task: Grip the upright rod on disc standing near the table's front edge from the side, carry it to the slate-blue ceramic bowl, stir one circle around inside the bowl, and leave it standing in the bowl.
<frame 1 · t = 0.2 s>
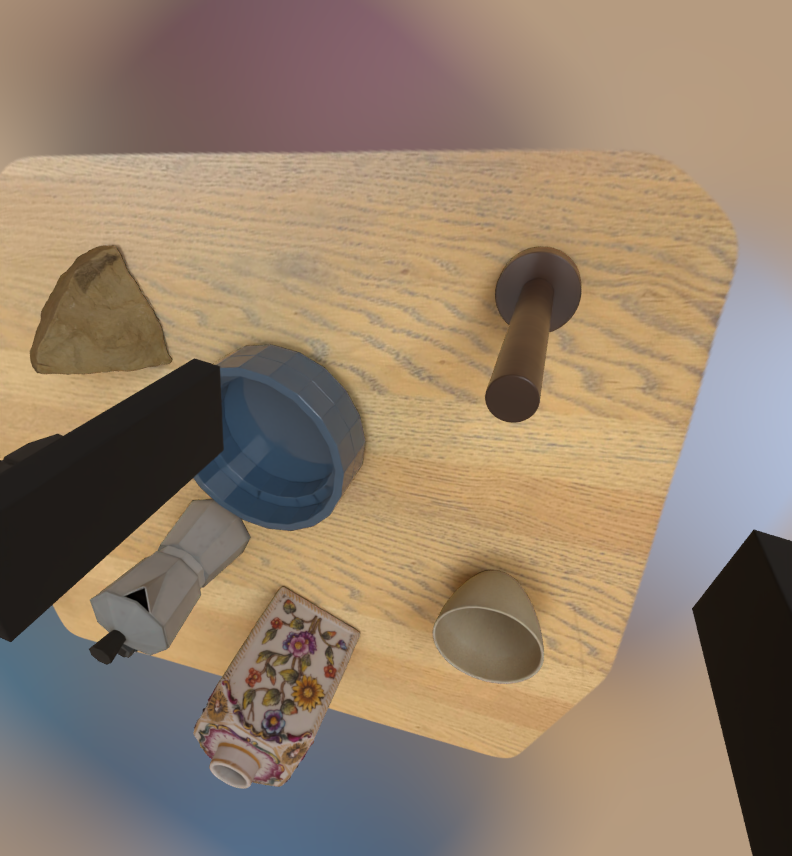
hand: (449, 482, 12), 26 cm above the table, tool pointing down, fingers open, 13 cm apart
rock: (137, 303, 46), on the table
decorative jar: (308, 628, 64), on the table
upright rod on disc: (538, 288, 35), on the table
bowl: (287, 423, 48), on the table
flower pot: (497, 586, 50), on the table
coffee maker: (216, 530, 60), on the table
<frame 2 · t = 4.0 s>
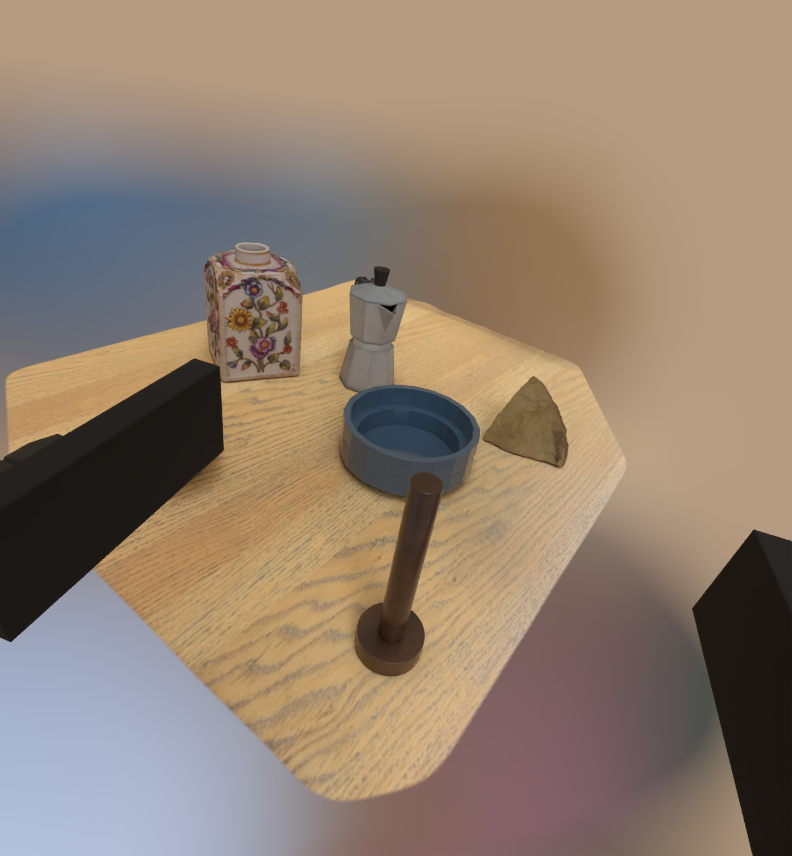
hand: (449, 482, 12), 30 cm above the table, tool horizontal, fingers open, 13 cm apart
rock: (525, 452, 69), on the table
decorative jar: (253, 363, 78), on the table
upright rod on disc: (388, 643, 41), on the table
bowl: (404, 457, 63), on the table
coffee maker: (364, 378, 80), on the table
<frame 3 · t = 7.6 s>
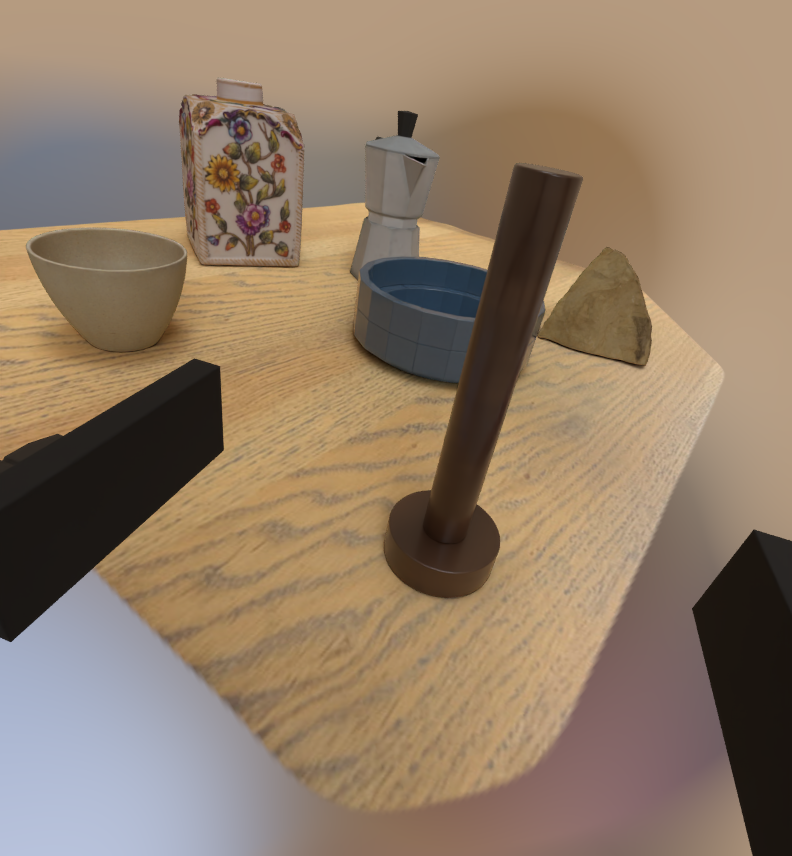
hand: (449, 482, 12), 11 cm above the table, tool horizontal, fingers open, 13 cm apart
rock: (593, 352, 53), on the table
decorative jar: (242, 254, 62), on the table
upright rod on disc: (437, 552, 25), on the table
bowl: (438, 346, 47), on the table
flower pot: (126, 340, 39), on the table
coffee maker: (381, 276, 64), on the table
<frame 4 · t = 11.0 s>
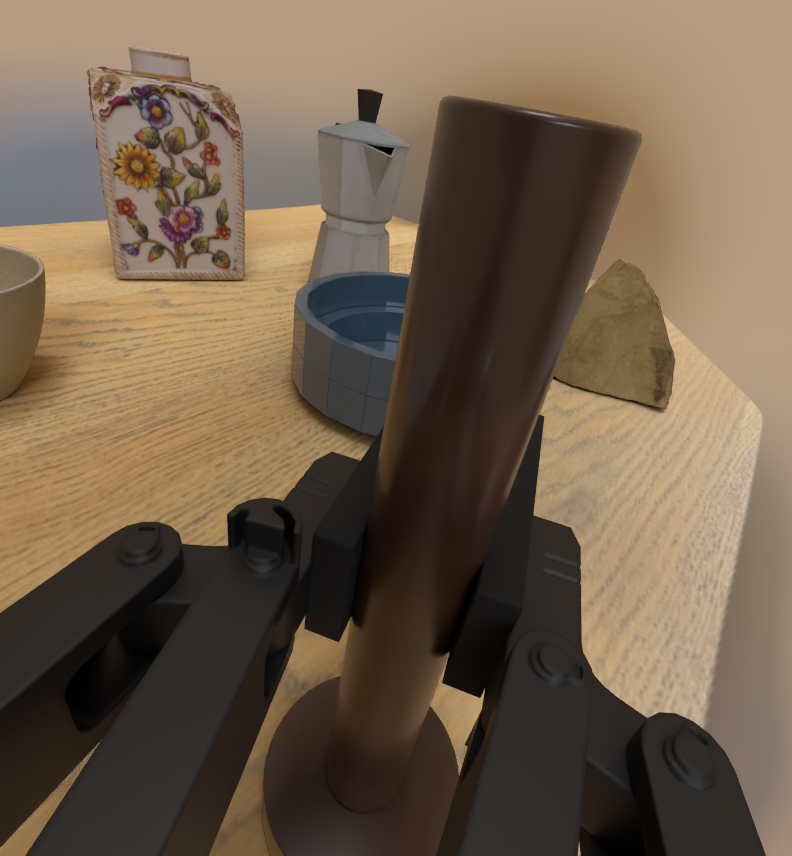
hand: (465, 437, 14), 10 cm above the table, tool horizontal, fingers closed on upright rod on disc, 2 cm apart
rock: (599, 389, 43), on the table
decorative jar: (177, 264, 52), on the table
upright rod on disc: (357, 793, 15), on the table, touching gripper
bowl: (404, 387, 37), on the table
coffee maker: (345, 290, 53), on the table
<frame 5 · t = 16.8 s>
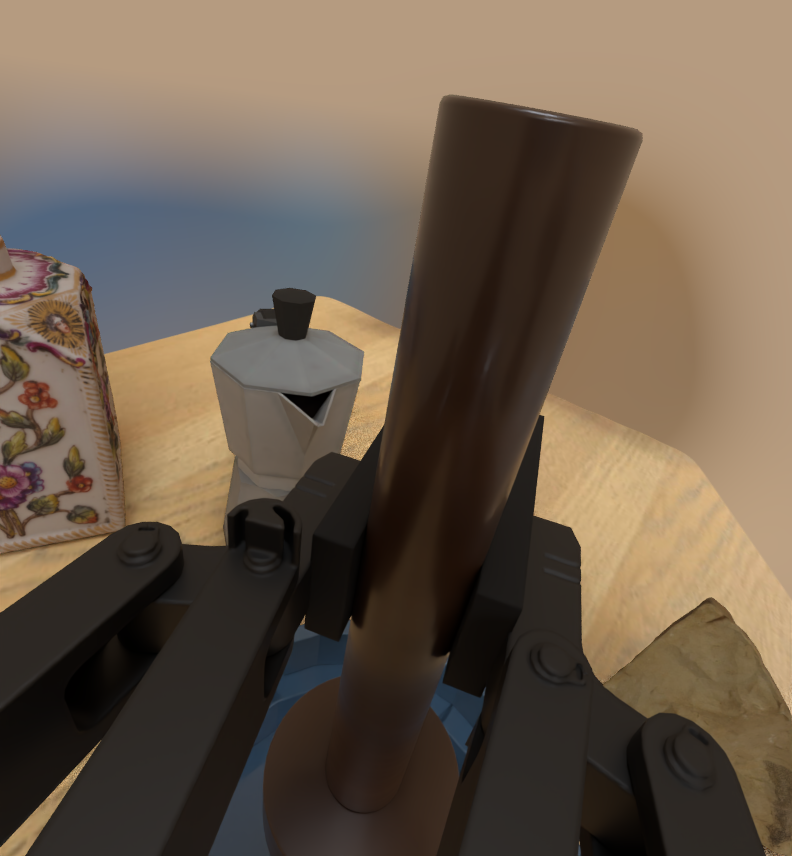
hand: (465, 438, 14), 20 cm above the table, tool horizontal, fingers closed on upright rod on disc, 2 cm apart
rock: (669, 778, 26), on the table
decorative jar: (33, 496, 36), on the table
upright rod on disc: (357, 793, 15), point 10 cm above the table, touching gripper
coffee maker: (281, 524, 37), on the table
when the fingers open (11 cm above the table, at t = 22.5 s): upright rod on disc stays where it is, resting on bowl.
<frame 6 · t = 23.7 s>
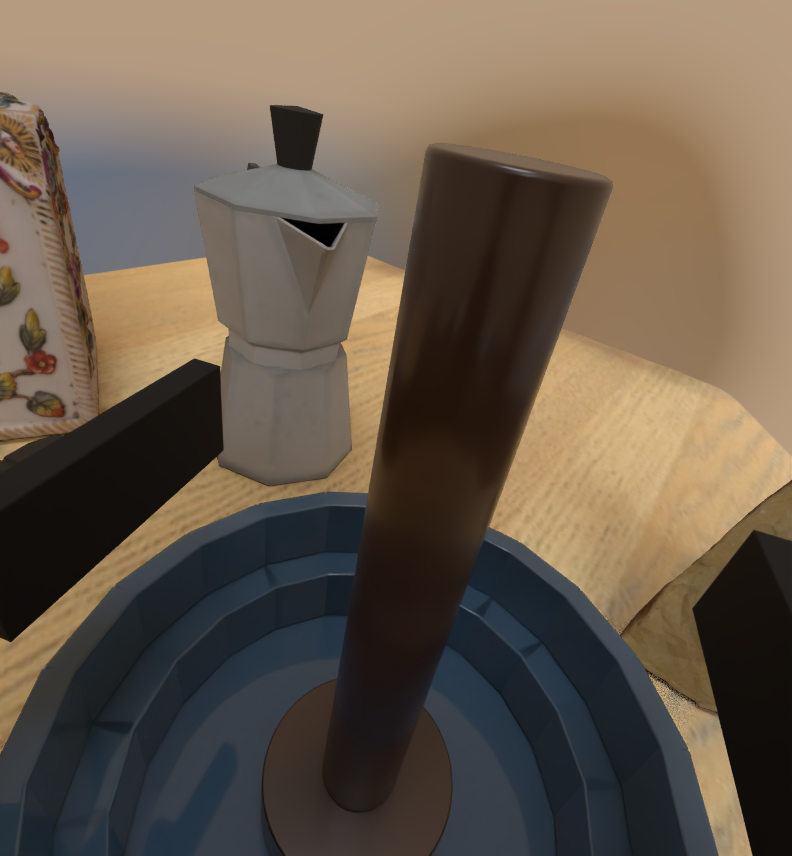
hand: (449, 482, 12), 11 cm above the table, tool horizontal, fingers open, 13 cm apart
rock: (749, 697, 22), on the table
upright rod on disc: (353, 793, 16), point 1 cm above the table, touching bowl
bowl: (351, 804, 16), on the table
coffee maker: (279, 433, 32), on the table
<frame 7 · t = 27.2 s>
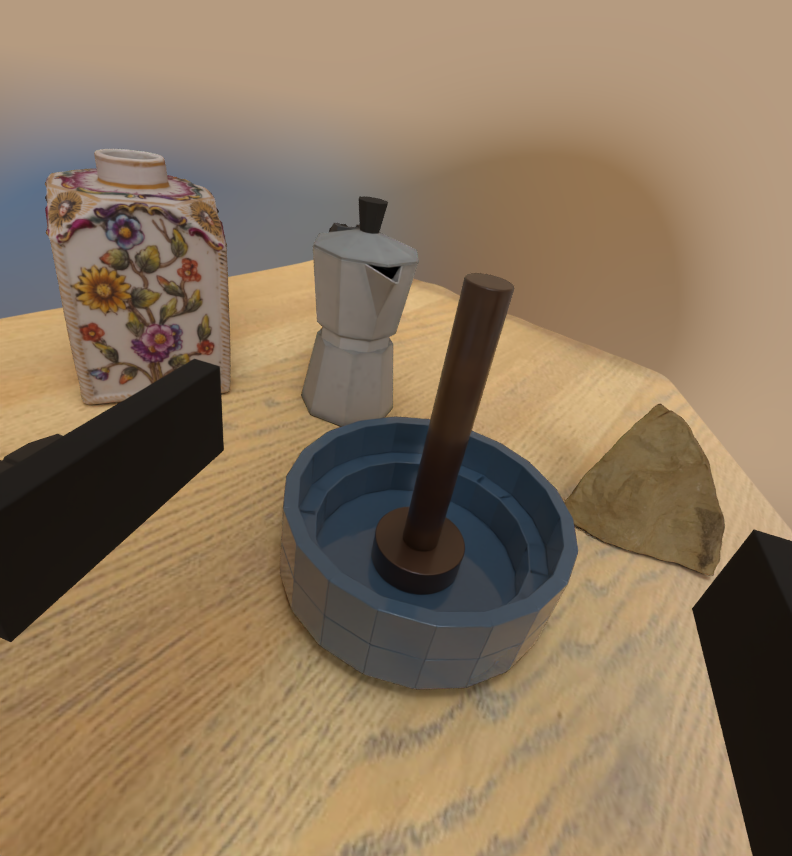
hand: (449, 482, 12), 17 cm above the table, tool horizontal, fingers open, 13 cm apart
rock: (634, 541, 37), on the table
decorative jar: (156, 370, 46), on the table
upright rod on disc: (415, 557, 31), point 1 cm above the table, touching bowl
bowl: (413, 566, 32), on the table
coffee maker: (343, 397, 48), on the table
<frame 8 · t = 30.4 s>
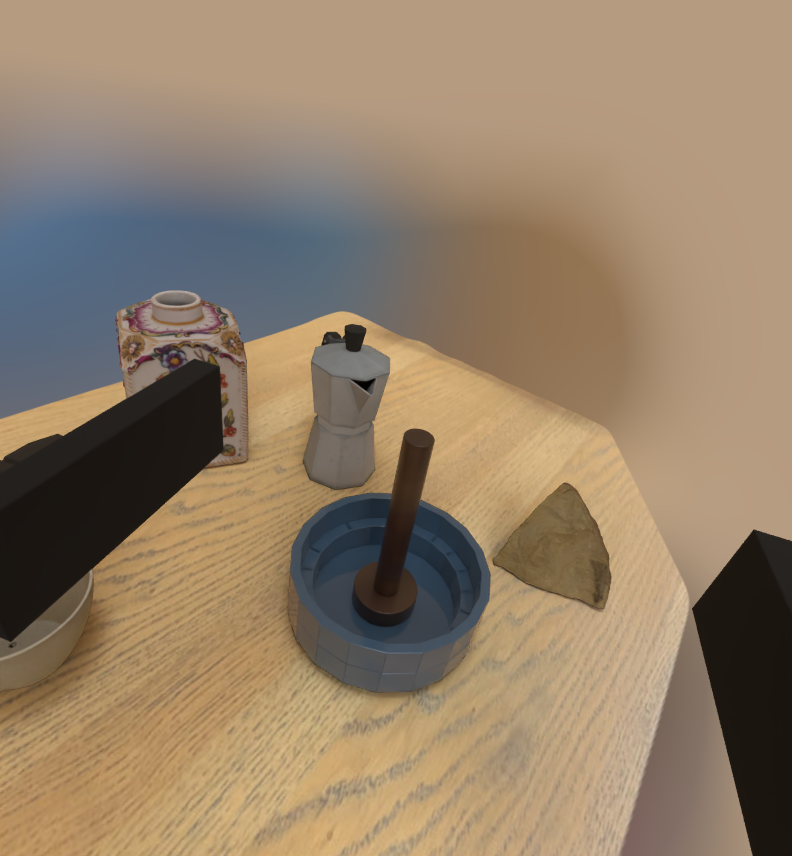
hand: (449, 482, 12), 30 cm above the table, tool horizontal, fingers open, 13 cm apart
rock: (550, 581, 50), on the table
decorative jar: (189, 443, 59), on the table
upright rod on disc: (383, 598, 44), point 1 cm above the table, touching bowl
bowl: (382, 604, 44), on the table
flower pot: (32, 657, 36), on the table
coffee maker: (336, 461, 61), on the table
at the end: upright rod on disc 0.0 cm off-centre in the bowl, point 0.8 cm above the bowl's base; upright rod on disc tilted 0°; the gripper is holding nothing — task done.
